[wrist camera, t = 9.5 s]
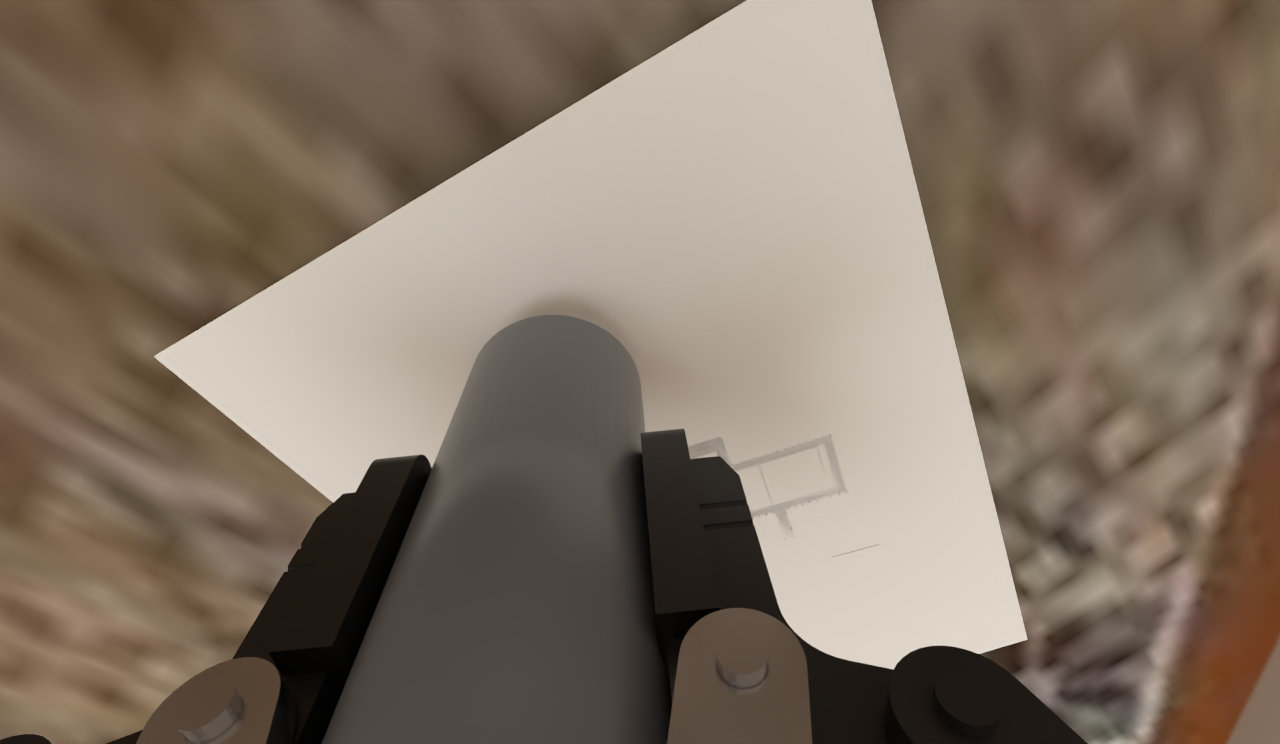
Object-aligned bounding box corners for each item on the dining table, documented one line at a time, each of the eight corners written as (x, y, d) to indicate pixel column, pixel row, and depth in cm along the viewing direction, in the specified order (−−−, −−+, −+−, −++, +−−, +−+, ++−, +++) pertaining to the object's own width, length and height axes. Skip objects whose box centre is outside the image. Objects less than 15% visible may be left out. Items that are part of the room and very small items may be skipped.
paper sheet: (1018, 661, 22) (1036, 690, 21) (335, 820, 27) (324, 849, 26) (934, -101, 11) (963, -113, 10) (-210, 402, 16) (-263, 426, 15)
